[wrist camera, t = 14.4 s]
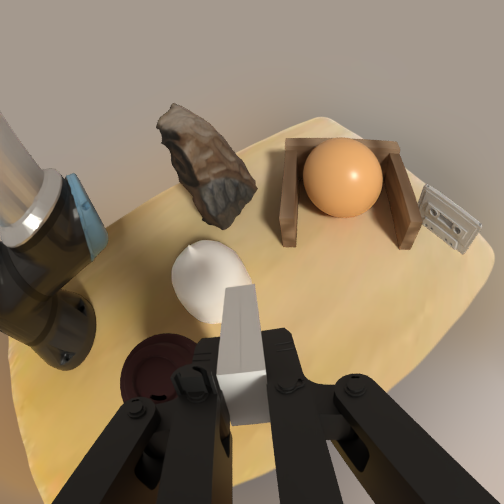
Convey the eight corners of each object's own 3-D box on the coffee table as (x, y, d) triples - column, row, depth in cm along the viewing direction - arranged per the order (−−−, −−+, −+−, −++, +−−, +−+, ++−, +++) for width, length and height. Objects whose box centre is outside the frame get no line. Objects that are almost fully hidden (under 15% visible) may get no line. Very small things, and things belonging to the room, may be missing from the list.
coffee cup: (198, 349, 37) (145, 309, 24) (259, 383, 33) (231, 362, 20) (163, 405, 33) (94, 390, 20) (222, 444, 29) (170, 458, 16)
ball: (293, 178, 35) (296, 127, 42) (309, 236, 45) (310, 182, 52) (391, 170, 31) (373, 120, 37) (386, 231, 41) (375, 177, 47)
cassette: (411, 217, 43) (422, 186, 36) (415, 211, 43) (427, 181, 37) (462, 257, 36) (481, 229, 30) (465, 250, 37) (484, 223, 30)
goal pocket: (283, 246, 44) (278, 213, 37) (289, 170, 54) (285, 138, 47) (410, 249, 39) (424, 217, 33) (390, 173, 49) (396, 141, 42)
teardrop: (223, 247, 46) (200, 196, 36) (267, 289, 40) (254, 241, 30) (171, 289, 43) (134, 247, 33) (209, 338, 37) (174, 306, 28)
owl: (224, 237, 47) (185, 140, 31) (172, 217, 52) (127, 134, 36) (260, 188, 52) (239, 94, 36) (209, 175, 57) (179, 94, 41)
